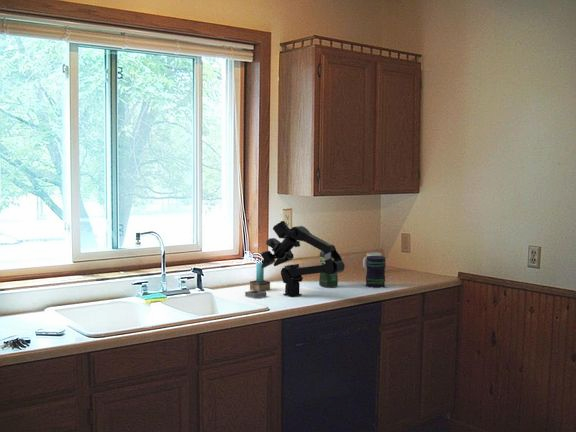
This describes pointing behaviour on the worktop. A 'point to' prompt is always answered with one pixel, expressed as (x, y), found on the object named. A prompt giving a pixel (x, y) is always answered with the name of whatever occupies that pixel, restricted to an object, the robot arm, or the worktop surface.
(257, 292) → the lower dock
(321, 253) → the coffee jar
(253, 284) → the upper stand
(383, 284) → the storage jar
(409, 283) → the worktop surface
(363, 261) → the mug
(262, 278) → the dowel plug
